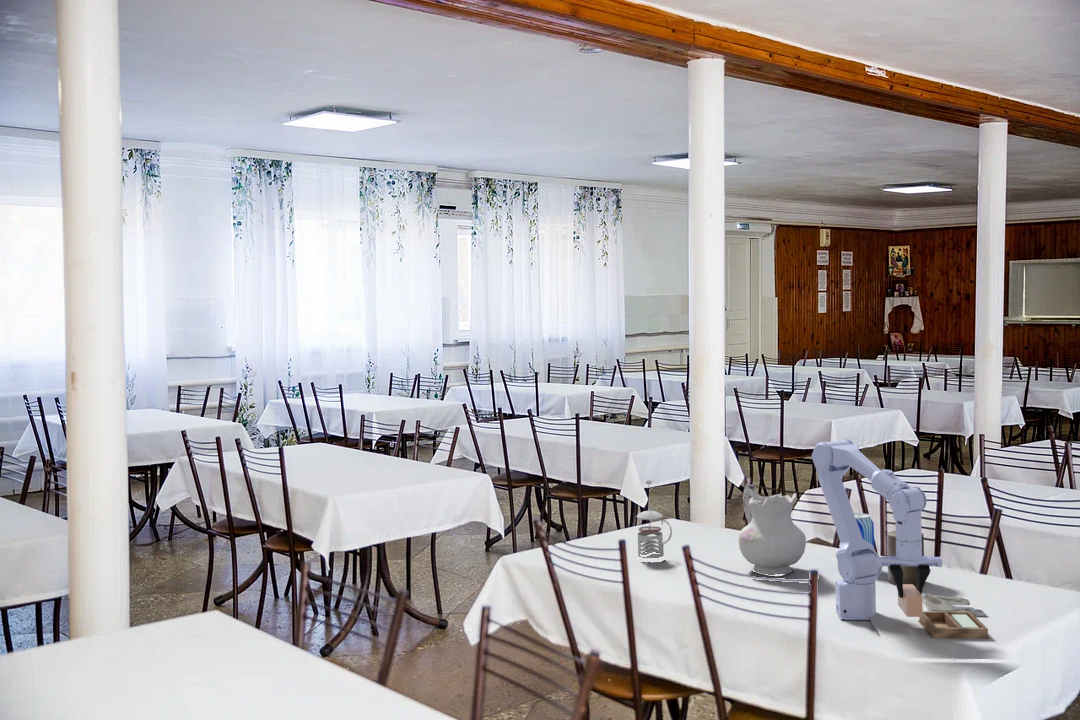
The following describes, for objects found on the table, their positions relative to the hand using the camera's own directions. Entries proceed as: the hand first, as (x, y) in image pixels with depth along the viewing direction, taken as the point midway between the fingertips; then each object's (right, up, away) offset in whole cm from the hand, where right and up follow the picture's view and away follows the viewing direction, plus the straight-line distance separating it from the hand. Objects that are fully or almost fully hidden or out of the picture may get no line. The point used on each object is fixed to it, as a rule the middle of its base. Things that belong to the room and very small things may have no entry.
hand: (909, 596), depth 241 cm
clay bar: (0, -3, 0) cm, 3 cm away
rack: (+10, -8, -1) cm, 13 cm away
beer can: (+7, -6, +59) cm, 60 cm away
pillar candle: (+15, -6, +44) cm, 47 cm away
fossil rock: (+18, -8, +17) cm, 26 cm away
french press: (-51, -7, +79) cm, 95 cm away
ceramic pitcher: (-19, -7, +61) cm, 65 cm away
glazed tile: (+13, -7, -1) cm, 15 cm away
